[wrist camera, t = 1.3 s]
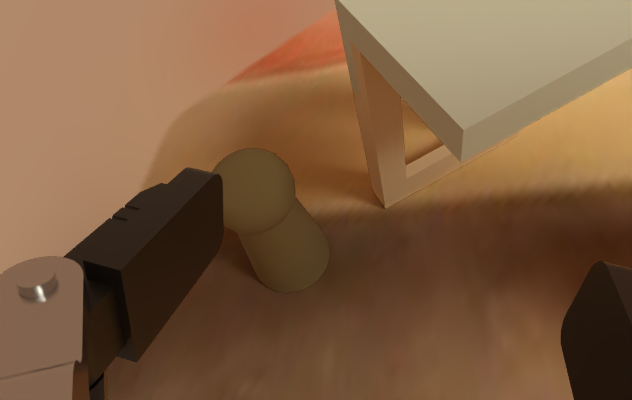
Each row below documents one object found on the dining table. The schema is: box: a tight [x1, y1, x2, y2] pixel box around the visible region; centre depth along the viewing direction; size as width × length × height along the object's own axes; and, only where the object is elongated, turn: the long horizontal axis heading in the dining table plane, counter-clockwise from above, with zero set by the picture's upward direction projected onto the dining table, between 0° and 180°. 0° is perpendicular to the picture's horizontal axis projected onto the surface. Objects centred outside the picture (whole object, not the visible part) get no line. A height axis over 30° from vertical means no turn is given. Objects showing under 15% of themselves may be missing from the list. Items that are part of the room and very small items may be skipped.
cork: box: [212, 148, 330, 293], centre depth 30 cm, size 6×6×11 cm
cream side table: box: [335, 0, 632, 209], centre depth 27 cm, size 12×10×18 cm
